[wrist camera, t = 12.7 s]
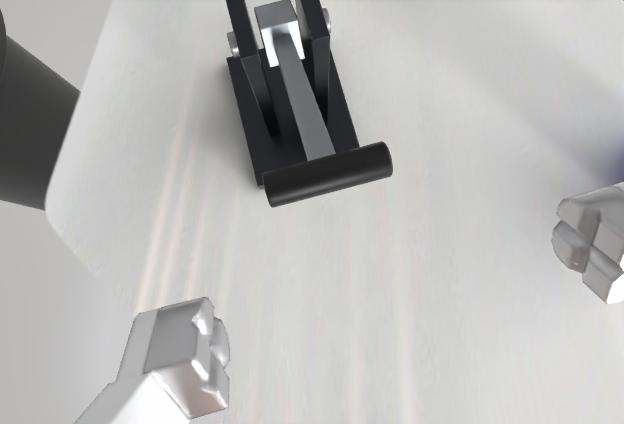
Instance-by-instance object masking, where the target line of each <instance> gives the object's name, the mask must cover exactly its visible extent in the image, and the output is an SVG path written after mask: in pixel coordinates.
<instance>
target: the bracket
mask: <svg viewBox="0 0 624 424" xmlns="http://www.w3.org/2000/svg"><path fill="white" fill-rule="evenodd" d="M295 1H296V11H297V18H298V21H299V27H300V32H301V38H302V44H303V50H304V55H305V59H302V60H301V62H302V65H303V68H304V70H305V73H306V76H307V78H308V81H309V84H310V86H311V89H312V92H313V94H314V97H315V100H316V102H317V105H318V108H319V110H320V113H321V116H322V118H323V121H324V124H325V126H326V129H327V132H328V134H329V137H330V140H331V142H332V145H333V148H334V150H335V153H340V152H344V151H347V150H351V149H355V148H359V147H360V146H359V143H358V140H357V136H356V133H355V130H354V126H353V123H352V120H351V116H350V113H349V110H348V106H347V103H346V100H345V96H344V93H343V90H342V86H341V83H340V80H339V76H338V73H337V70H336V66H335V63H334V60H333V56H332V53H331V50H330V33H331V23H330V18H329V14H328V11H327V9H326V8H323V9H322V7H321V4H320V1H319V0H295ZM226 3H227V7H228V11H229V15H230V19H231V23H232V27H233V32H229V33H227V37H228V41H229V45H230V48H231V51H232V54H233V56H232V57H228V58H227V62H228V66H229V71H230V75H231V79H232V83H233V87H234V91H235V95H236V99H237V103H238V107H239V111H240V116H241V120H242V124H243V128H244V132H245V136H246V140H247V144H248V148H249V152H250V156H251V160H252V165H253V169H254V173H255V177H256V181H257V185H258V187H259V188H260V189H264V184H263V179H262V174H263V173H264V172H268V171H271V170H275V169H279V168H283V167H287V166H290V165H294V164H298V163H302V162H306V161H308V159H307V156H306V153H305V149H304V146H303V143H302V139H301V136H300V133H299V129H298V126H297V123H296V120H295V116H294V113H293V110H292V106H291V103H290V100H289V96H288V93H287V90H286V86H285V83H284V80H283V76H282V73H281V70H280V67H279V66H275V67H269V64H268V60H267V56H266V53H265V49H264V48H263V49H258V45H257V42H256V38H255V35H254V31H253V28H252V24H251V21H250V17H249V14H248V10H247V7H246V3H245V0H226Z"/></svg>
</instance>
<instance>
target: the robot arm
mask: <svg viewBox="0 0 624 424" xmlns="http://www.w3.org/2000/svg"><path fill="white" fill-rule="evenodd" d="M557 216H558V217H559V218H560V219H561V221H560V222H559V223H558V225H557V226H556V227H555V228H554V229H553V234H552V244H553V248H554V251H555V253H556V255H557V256H558V258H559V259H560V261H561V262H562V263H563V264H564V265H565V266H567V267H568V268H569V269H572V270H575V271H578V272H580V273H582V278H583V283H585V284H586V285H587V286H588V287H589V288H590V289H591V290H592V291H593V292H594V293H595V294H596V295H597V296H598V297H600V298H601V299H602V300H603V301H604V302H605V303H606V304H609V303H613V302H618V301H622V300H624V182H622V183H618V184H615V185H611V186H608V187H606V188H601V189H598V190H594V191H591V192H587V193H583V194H580V195H576V196H573V197H569V198H566V199H563V200H562V201H561V203H560V204H559V205H558V209H557ZM229 361H230V346H229V339H228V335H227V332H226V329H225V326H224V324H223V322H222V321H221V320H220V319H218V318H216V317H214V306H213V305H212V303H211V301H210V300H209V298H208V297H201V298H197V299H193V300H189V301H185V302H181V303H177V304H173V305H169V306H165V307H161V308H159V309H155V310H151V311H147V312H142V313H139V314H138V315H137V316H136V317H135V319H134V321H133V325H132V328H131V331H130V335H129V338H128V341H127V345H126V348H125V351H124V355H123V358H122V361H121V365H120V368H119V372H118V375H117V378H116V381H115V382H113V383H109V384H108V385H107V386H106V387H105V388H104V389H103V390H102V392H101V393H100V394H99V395H98V396H97V397H96V399H95V400H94V401H93V402H92V403H91V404H90V405H89V407H88V408H87V409H86V410H85V411H84V412H83V414H82V415H81V416H80V417H79V418H78V419H77V420H76V422H75V423H74V424H190V421H189V420H190V419H194V418H197V417H200V416H204V415H206V414H210V413H213V412H217V411H220V410H223V409H227V408H229V377H228V376H227V374H226V372H225V371H224V369H225V367H226V366H227V364H228V363H229Z"/></svg>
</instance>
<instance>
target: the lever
mask: <svg viewBox="0 0 624 424" xmlns="http://www.w3.org/2000/svg"><path fill="white" fill-rule="evenodd" d="M254 11H255V15H256V19H257V22H258V26H259V30H260V34H261V38H262V42H263V45H264V49H265V53H266V56H267V60H268V64H269V67H275V66H279V67H280V70H281V73H282V76H283V80H284V83H285V86H286V90H287V93H288V96H289V100H290V103H291V106H292V110H293V113H294V116H295V120H296V123H297V126H298V129H299V133H300V136H301V139H302V143H303V146H304V149H305V153H306V156H307V159H308V161H306V162H302V163H298V164H294V165H290V166H287V167H283V168H279V169H275V170H271V171H268V172H264V173H263V174H262V179H263V184H264V188H265V192H266V195H267V199H268V201H269V204H270V206H271V207H277V206H281V205H284V204H288V203H292V202H296V201H300V200H303V199H307V198H311V197H315V196H318V195H322V194H326V193H330V192H334V191H337V190H341V189H345V188H349V187H353V186H356V185H360V184H364V183H368V182H371V181H375V180H379V179H383V178H387V177H390V176H391V175H392V172H393V165H392V159H391V155H390V152H389V149H388V147H387V145H386V144H385V143H384V142H378V143H374V144H370V145H366V146H363V147H359V148H355V149H351V150H347V151H344V152H340V153H335V150H334V148H333V145H332V142H331V140H330V137H329V134H328V132H327V129H326V126H325V124H324V121H323V118H322V116H321V113H320V110H319V108H318V105H317V102H316V100H315V97H314V94H313V92H312V89H311V86H310V84H309V81H308V78H307V76H306V73H305V70H304V68H303V65H302V62H301V60H302V59H305V55H304V50H303V44H302V38H301V32H300V27H299V21H298V18H297V16H296V13H295V11H294V8H293V6H292V4H291V1H290V0H282V1H278V2H274V3H270V4H266V5H262V6H258V7H255V8H254Z"/></svg>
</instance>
